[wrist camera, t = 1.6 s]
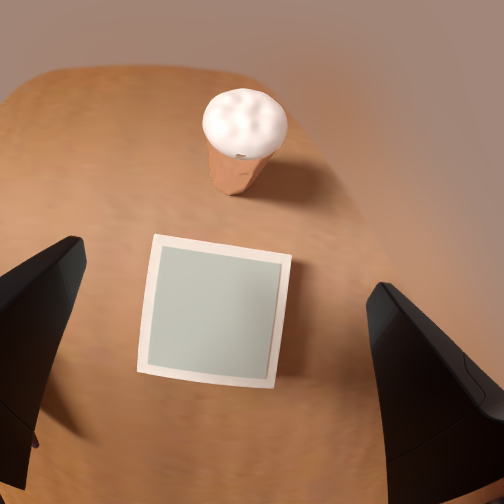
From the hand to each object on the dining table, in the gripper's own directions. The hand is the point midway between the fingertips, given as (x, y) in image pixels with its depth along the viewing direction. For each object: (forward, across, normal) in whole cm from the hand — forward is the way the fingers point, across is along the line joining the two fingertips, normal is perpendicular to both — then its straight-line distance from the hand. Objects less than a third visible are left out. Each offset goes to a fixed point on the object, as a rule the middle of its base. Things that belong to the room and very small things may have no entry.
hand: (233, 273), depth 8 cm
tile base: (+8, 0, +11) cm, 14 cm away
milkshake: (+15, 0, +4) cm, 16 cm away
